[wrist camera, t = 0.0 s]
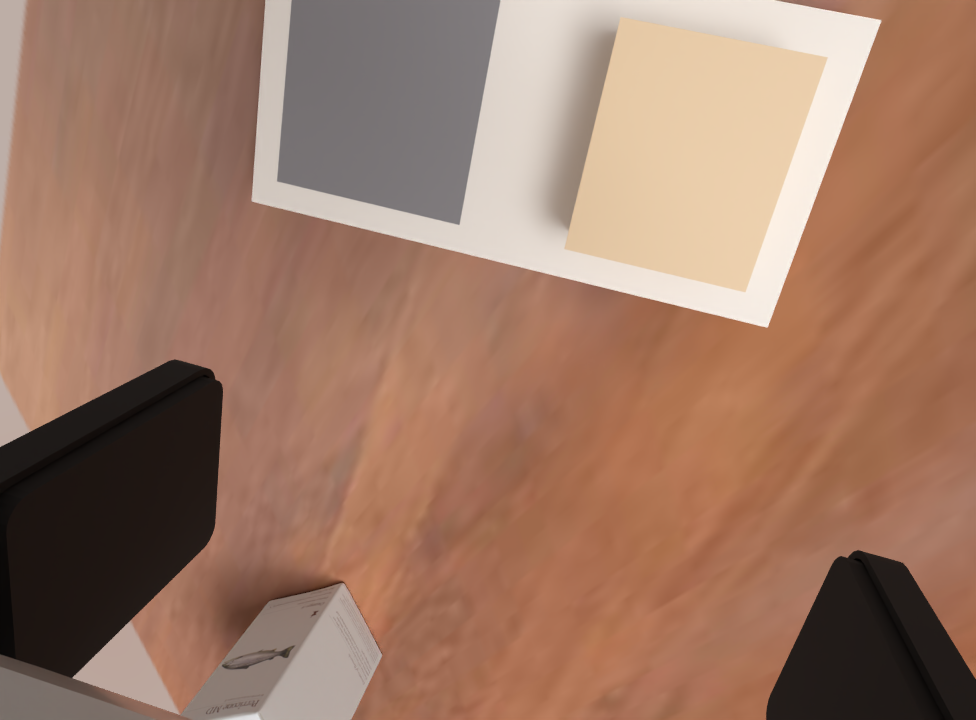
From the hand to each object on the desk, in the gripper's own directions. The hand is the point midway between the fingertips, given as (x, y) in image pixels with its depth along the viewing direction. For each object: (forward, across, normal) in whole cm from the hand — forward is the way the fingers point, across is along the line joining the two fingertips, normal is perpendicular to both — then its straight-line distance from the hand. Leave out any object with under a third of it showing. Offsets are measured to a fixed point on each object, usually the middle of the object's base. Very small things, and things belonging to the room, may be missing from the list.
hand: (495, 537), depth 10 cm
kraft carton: (+28, -3, -5) cm, 29 cm away
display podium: (+31, +5, -5) cm, 32 cm away
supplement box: (+32, +13, +35) cm, 49 cm away
